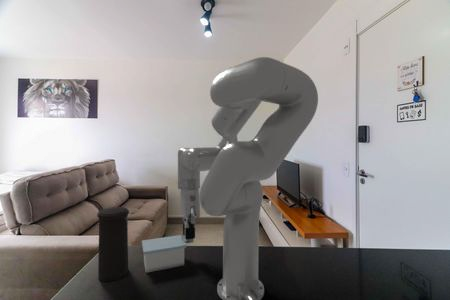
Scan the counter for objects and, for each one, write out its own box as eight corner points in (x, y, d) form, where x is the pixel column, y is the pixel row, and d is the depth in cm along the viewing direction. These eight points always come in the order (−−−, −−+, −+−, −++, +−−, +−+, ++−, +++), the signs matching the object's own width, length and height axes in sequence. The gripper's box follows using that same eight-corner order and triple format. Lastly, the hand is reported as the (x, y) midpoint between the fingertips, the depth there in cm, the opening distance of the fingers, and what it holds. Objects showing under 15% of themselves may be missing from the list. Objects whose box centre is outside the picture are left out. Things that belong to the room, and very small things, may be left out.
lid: (195, 248, 78) (195, 224, 77) (143, 257, 71) (143, 231, 71) (189, 238, 86) (189, 216, 86) (141, 245, 80) (141, 222, 80)
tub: (184, 265, 77) (184, 247, 77) (145, 272, 72) (145, 253, 72) (179, 254, 84) (179, 238, 84) (143, 260, 80) (143, 243, 80)
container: (134, 267, 76) (134, 205, 75) (119, 283, 67) (118, 213, 66) (109, 265, 76) (108, 204, 76) (90, 281, 68) (89, 212, 67)
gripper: (206, 187, 75) (206, 244, 75) (193, 179, 90) (193, 227, 90) (183, 188, 72) (183, 248, 72) (173, 181, 87) (173, 230, 87)
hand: (188, 236), depth 81 cm, fingers closed on lid, 3 cm apart
